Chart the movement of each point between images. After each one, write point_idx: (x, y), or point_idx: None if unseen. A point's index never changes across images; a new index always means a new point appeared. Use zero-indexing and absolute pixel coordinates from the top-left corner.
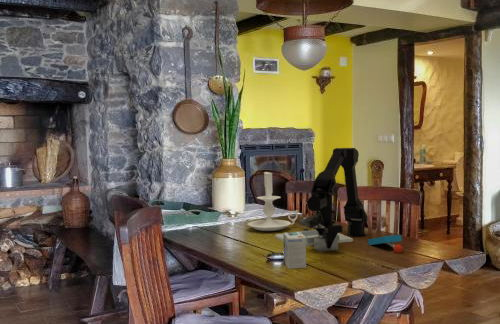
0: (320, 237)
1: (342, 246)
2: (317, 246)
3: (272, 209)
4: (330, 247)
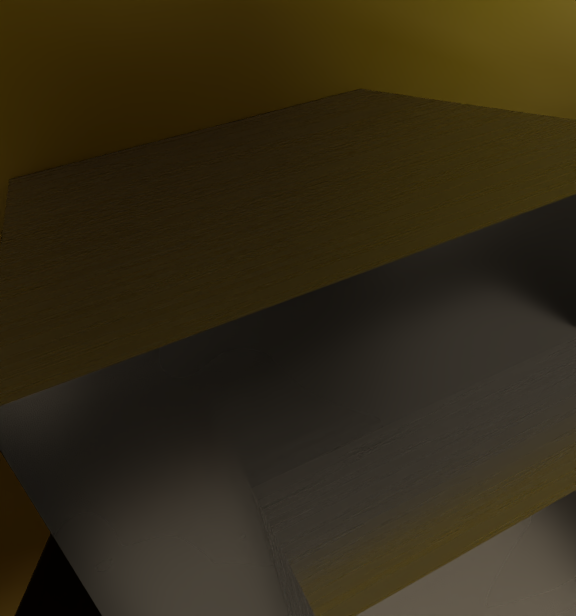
0: (319, 494)
1: None
2: (181, 170)
3: None
4: None
